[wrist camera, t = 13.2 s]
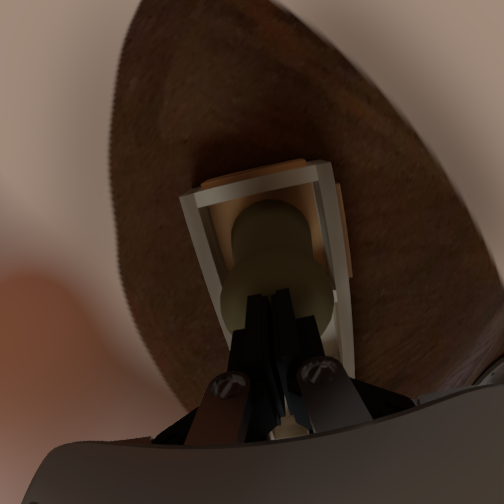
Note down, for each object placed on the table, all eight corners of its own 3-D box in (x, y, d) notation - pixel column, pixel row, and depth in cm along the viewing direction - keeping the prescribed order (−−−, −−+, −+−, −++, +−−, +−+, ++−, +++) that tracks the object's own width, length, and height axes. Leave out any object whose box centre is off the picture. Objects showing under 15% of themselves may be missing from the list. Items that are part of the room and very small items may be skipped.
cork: (213, 236, 22) (175, 318, 12) (273, 181, 20) (287, 220, 10) (268, 289, 23) (272, 393, 13) (327, 241, 22) (376, 323, 12)
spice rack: (324, 153, 20) (335, 154, 17) (351, 405, 30) (358, 427, 26) (190, 183, 21) (177, 191, 18) (267, 421, 31) (267, 444, 27)
